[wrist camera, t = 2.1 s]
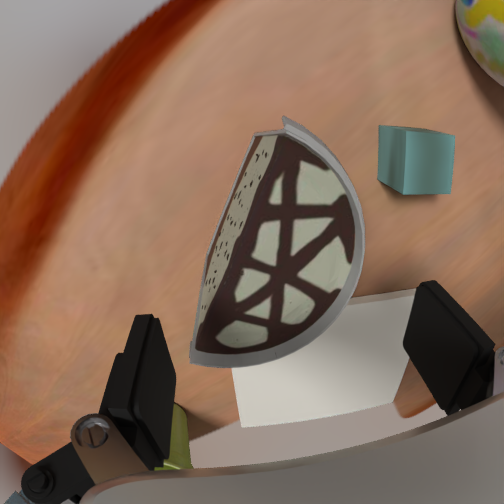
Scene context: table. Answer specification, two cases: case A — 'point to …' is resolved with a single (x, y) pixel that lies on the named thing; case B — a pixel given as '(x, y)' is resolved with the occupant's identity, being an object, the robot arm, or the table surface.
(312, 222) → the food container
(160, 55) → the table surface
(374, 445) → the robot arm
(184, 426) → the plant pot
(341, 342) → the cream board
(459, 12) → the decorative egg
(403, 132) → the teal block
